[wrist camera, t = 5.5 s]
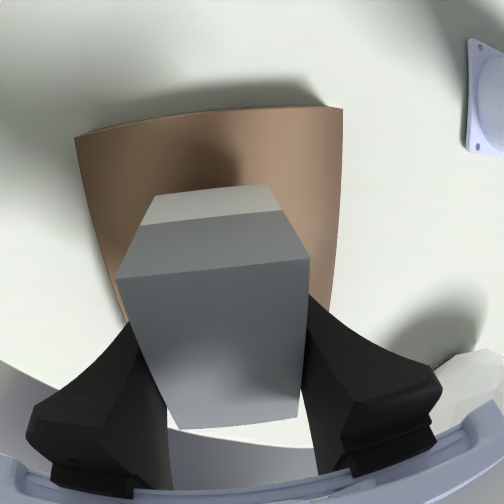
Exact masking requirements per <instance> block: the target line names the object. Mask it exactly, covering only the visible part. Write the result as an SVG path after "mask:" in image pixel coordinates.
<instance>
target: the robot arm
mask: <svg viewBox="0 0 504 504" xmlns="http://www.w3.org/2000/svg"><path fill="white" fill-rule="evenodd" d="M467 44H468V64H469V100H468V121H467V134H466V150H467V151H468V152H470V153H474V154H482V155H489V156H496V157H502V158H504V53H503V52H501V51H499V50H497V49H495V48H493V47H491V46H489V45H487V44H485V43H483V42H481V41H479V40H476V39H473V38H470V39H468V43H467ZM478 47H479V48H478ZM442 391H443V387H442V385H441V383H440V382H439V380H438V378H437V376H436V375H435V373H434V372H433V370H432V369H431V368H430V366H428V365H425V364H422V363H419V362H416V361H413V360H410V359H407V358H404V357H402V356H399V355H397V354H395V353H392V352H390V351H388V350H386V349H384V348H382V347H380V346H378V345H376V344H374V343H372V342H370V341H369V340H367V339H365V338H364V337H362V336H360V335H359V334H357V333H356V332H354V331H353V330H351V329H350V328H348V327H347V326H345V325H344V324H343V323H341V322H340V321H339V320H338V319H337V318H335V317H334V316H333V315H332V314H330V313H329V312H328V311H327V310H326V309H325V308H324V307H323V306H322V305H320V304H319V303H318V302H317V301H316V300H315V299H314V298H313V297H312V296H311V295H310V294H309V295H308V310H307V324H306V336H305V348H304V359H303V369H302V379H301V392H302V395H303V400H304V404H305V408H306V413H307V417H308V422H309V427H310V431H311V436H312V442H313V447H314V452H315V457H316V464H317V469H318V476H315V477H310V478H306V479H300V480H295V481H290V482H284V483H278V484H272V485H264V486H257V487H247V488H237V489H226V490H206V491H205V490H204V491H174V490H173V484H172V477H171V469H170V459H169V448H168V430H167V405H166V403H165V401H164V399H163V397H162V395H161V393H160V391H159V389H158V387H157V385H156V383H155V380H154V378H153V376H152V374H151V372H150V370H149V367H148V365H147V363H146V361H145V358H144V356H143V354H142V351H141V349H140V346H139V344H138V342H137V339H136V337H135V334H134V332H133V329H132V327H131V324H130V322H129V321H128V322H127V324H126V325H125V327H124V328H123V329H122V331H121V332H120V333H119V334H118V336H117V337H116V338H115V339H114V341H113V342H112V343H111V344H110V346H109V347H108V348H107V349H106V350H105V351H104V352H103V353H102V354H101V355H100V356H99V357H98V358H97V359H96V360H95V361H94V362H93V363H92V364H91V365H90V366H89V367H88V368H87V369H86V370H84V371H83V372H82V373H81V374H80V375H79V376H78V377H77V378H75V379H74V380H73V381H71V382H70V383H69V384H68V385H66V386H65V387H63V388H62V389H61V390H59V391H58V392H56V393H55V394H53V395H52V396H50V397H48V398H47V399H45V400H44V401H42V402H40V403H38V404H37V405H35V406H34V408H33V412H32V414H31V418H30V421H29V424H28V427H27V431H26V439H27V441H28V442H29V444H30V445H31V446H32V447H33V448H34V449H35V450H37V451H38V452H39V453H40V454H42V455H43V456H44V457H45V458H47V459H48V460H49V461H51V462H52V463H53V465H52V470H51V474H48V473H44V472H41V471H37V470H34V469H30V468H27V467H26V466H25V465H24V464H23V463H22V462H20V461H19V460H17V459H15V458H13V457H11V456H8V455H5V454H2V453H0V504H432V503H434V502H436V501H438V500H440V499H442V498H444V497H445V496H447V495H449V494H451V493H453V492H454V491H456V490H458V489H459V488H461V487H462V486H464V485H466V484H468V483H469V482H471V481H472V480H474V479H475V478H477V477H478V476H480V475H481V474H483V473H484V472H485V471H487V470H489V469H490V468H491V467H493V466H494V465H495V464H497V463H498V462H499V461H500V460H502V459H503V458H504V416H503V415H502V413H501V411H500V410H499V408H498V406H497V405H496V403H495V401H494V400H493V399H491V400H489V401H487V402H486V403H484V404H482V405H480V406H479V407H477V408H475V409H474V410H472V411H471V412H470V413H468V414H467V415H466V416H465V417H464V419H463V420H462V421H461V423H460V424H458V425H456V426H454V427H452V428H450V429H448V430H446V431H444V432H442V433H440V434H438V435H435V436H434V434H433V432H432V430H431V428H430V426H429V425H431V424H432V420H431V418H430V416H429V413H430V412H431V410H432V409H433V407H434V406H435V405H436V403H437V402H438V400H439V399H440V397H441V395H442ZM326 495H329V496H328V498H326V499H321V500H315V501H309V502H307V501H305V500H310V499H314V498H319V497H323V496H326Z"/></svg>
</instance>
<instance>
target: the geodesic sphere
mask: <svg viewBox="0 0 504 504" xmlns="http://www.w3.org/2000/svg"><path fill="white" fill-rule="evenodd" d="M433 372H434V373H435V375H436V376H437V378H438V380H439V382H440V383H441V385H442V387H443V391H442V395H441V397H440V399H439V400H438V402H437V403H436V405H435V406H434V407H433V409H432V410H431V412H430V413H429V416H430V418H431V420H432V424H431V425H429V426H430V428H431V430H432V432H433V434H434V436H435V435H438V434H440V433H442V432H444V431H446V430H448V429H450V428H452V427H454V426H456V425H458V424H460V423H461V421H462V420H463V419H464V417H465V416H466V415H467V414H468V413H470V412H471V411H472V410H474V409H475V408H477V407H479V406H480V405H482V404H484V403H486V402H487V401H489V400H491V399H493V400H494V401H495V403H496V405H497V406H498V408H499V410H500V411H501V413H502V415H503V416H504V357H503V356H501V355H499V354H497V353H495V352H493V351H491V350H489V349H482V350H478V351H473V352H468V353H463V354H458V355H455V356H454V357H452V358H451V359H450V360H448V361H447V362H446V363H444V364H443V365H441V366H440V367H439V368H437V369H436V370H434V371H433Z"/></svg>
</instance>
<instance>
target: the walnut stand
mask: <svg viewBox="0 0 504 504" xmlns="http://www.w3.org/2000/svg"><path fill="white" fill-rule="evenodd" d="M74 140H75V146H76V151H77V157H78V162H79V167H80V172H81V176H82V181H83V185H84V190H85V194H86V198H87V202H88V206H89V210H90V214H91V218H92V221H93V225H94V229H95V232H96V236H97V239H98V242H99V246H100V249H101V252H102V255H103V258H104V262H105V265H106V268H107V271H108V274H109V277H110V279H111V282H112V285H113V288H114V291H115V294H116V296H117V299H118V302H119V304H120V307H121V310H122V312H123V315H124V317H125V320H126V322H128V321H129V319H128V316H127V314H126V311H125V308H124V305H123V303H122V300H121V297H120V294H119V291H118V288H117V285H116V283H115V276H116V274H117V272H118V270H119V268H120V265H121V263H122V261H123V259H124V257H125V255H126V252H127V250H128V248H129V246H130V244H131V242H132V240H133V238H134V236H135V234H136V232H137V230H138V228H139V226H140V224H141V222H142V220H143V218H144V216H145V214H146V212H147V210H148V208H149V206H150V205H151V203H152V201H153V199H154V197H155V196H157V195H164V194H172V193H179V192H188V191H196V190H205V189H214V188H223V187H233V186H244V185H255V184H267V185H268V186H269V188H270V190H271V191H272V193H273V195H274V196H275V198H276V200H277V201H278V203H279V205H280V206H281V208H282V210H283V211H284V213H285V215H286V216H287V218H288V220H289V222H290V223H291V225H292V227H293V228H294V230H295V232H296V234H297V235H298V237H299V239H300V240H301V242H302V244H303V246H304V247H305V249H306V251H307V253H308V254H309V256H310V258H311V259H310V278H309V294H310V295H311V296H312V297H313V298H314V299H315V300H316V301H317V302H318V303H319V304H320V305H322V306H323V307H324V308H325V309H326V310H327V311H328V312H329V307H330V300H331V292H332V284H333V275H334V266H335V256H336V246H337V234H338V222H339V208H340V192H341V173H342V142H343V109H340V108H334V107H329V106H269V107H249V108H234V109H222V110H212V111H202V112H194V113H186V114H178V115H171V116H165V117H158V118H152V119H147V120H141V121H136V122H131V123H126V124H121V125H116V126H111V127H107V128H103V129H98V130H94V131H90V132H88V133H85V134H83V135H80V136H78V137H75V138H74Z"/></svg>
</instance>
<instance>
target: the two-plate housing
mask: <svg viewBox="0 0 504 504" xmlns="http://www.w3.org/2000/svg"><path fill="white" fill-rule="evenodd" d="M310 259H311V258H310V256H309V254H308V253H307V251H306V249H305V247H304V246H303V244H302V242H301V240H300V239H299V237H298V235H297V234H296V232H295V230H294V228H293V227H292V225H291V223H290V222H289V220H288V218H287V216H286V215H285V213H284V211H283V210H282V208H281V206H280V205H279V203H278V201H277V200H276V198H275V196H274V195H273V193H272V191H271V190H270V188H269V186H268V185H267V184H255V185H244V186H233V187H223V188H214V189H205V190H196V191H188V192H179V193H172V194H164V195H157V196H155V197H154V199H153V201H152V203H151V205H150V206H149V208H148V210H147V212H146V214H145V216H144V218H143V220H142V222H141V224H140V226H139V228H138V230H137V232H136V234H135V236H134V238H133V240H132V242H131V244H130V246H129V248H128V250H127V252H126V255H125V257H124V259H123V261H122V263H121V265H120V268H119V270H118V272H117V274H116V276H115V283H116V285H117V288H118V291H119V294H120V297H121V300H122V303H123V305H124V308H125V311H126V314H127V316H128V319H129V322H130V324H131V327H132V329H133V332H134V334H135V337H136V339H137V342H138V344H139V346H140V349H141V351H142V354H143V356H144V358H145V361H146V363H147V365H148V367H149V370H150V372H151V374H152V376H153V378H154V380H155V383H156V385H157V387H158V389H159V391H160V393H161V395H162V397H163V399H164V401H165V403H166V405H167V407H168V409H169V411H170V413H171V415H172V417H173V419H174V421H175V423H176V424H177V426H178V428H179V430H180V429H203V428H217V427H229V426H239V425H248V424H256V423H263V422H270V421H277V420H283V419H289V418H295V417H297V414H298V406H299V397H300V388H301V379H302V369H303V359H304V348H305V336H306V324H307V310H308V295H309V278H310Z"/></svg>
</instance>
